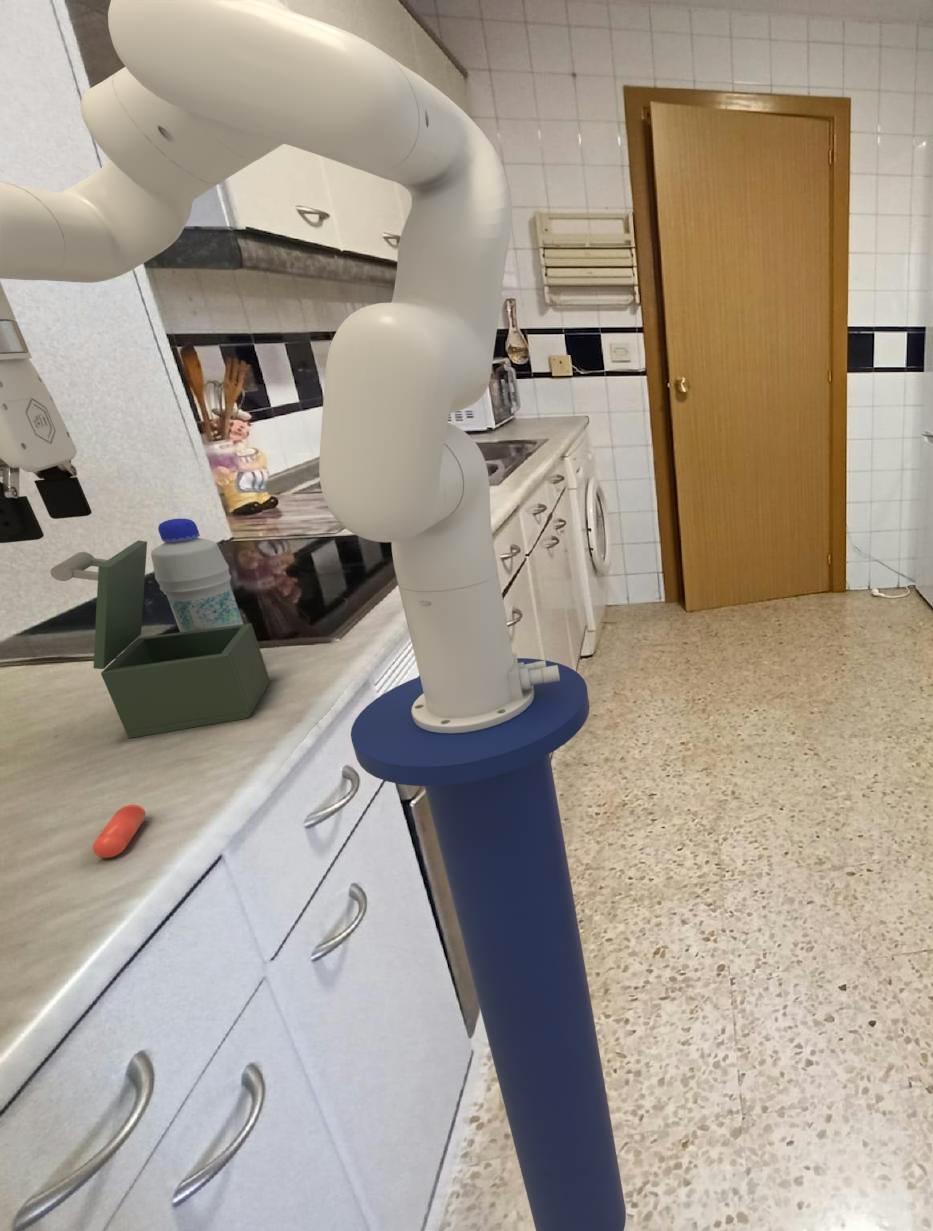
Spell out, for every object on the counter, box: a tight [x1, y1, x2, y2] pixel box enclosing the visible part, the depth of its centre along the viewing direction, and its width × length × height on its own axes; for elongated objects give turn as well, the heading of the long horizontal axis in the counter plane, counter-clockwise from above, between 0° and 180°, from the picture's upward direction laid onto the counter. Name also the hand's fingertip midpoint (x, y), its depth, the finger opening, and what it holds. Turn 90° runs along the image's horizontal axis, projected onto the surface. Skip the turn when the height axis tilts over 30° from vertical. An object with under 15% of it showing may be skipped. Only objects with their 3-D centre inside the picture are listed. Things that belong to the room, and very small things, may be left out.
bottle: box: [150, 518, 244, 632], centre depth 85 cm, size 7×7×20 cm
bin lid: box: [49, 540, 148, 670], centre depth 74 cm, size 11×10×5 cm
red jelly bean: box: [92, 804, 146, 859], centre depth 61 cm, size 6×2×2 cm, turn 24°
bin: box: [100, 622, 271, 739], centre depth 80 cm, size 11×10×8 cm
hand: (48, 527), depth 71 cm, fingers open, 9 cm apart
